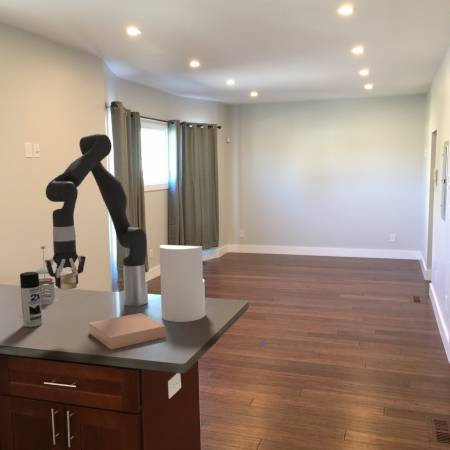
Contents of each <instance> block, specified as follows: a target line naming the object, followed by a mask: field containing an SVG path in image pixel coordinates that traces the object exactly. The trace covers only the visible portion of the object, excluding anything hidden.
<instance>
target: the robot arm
mask: <svg viewBox="0 0 450 450" xmlns="http://www.w3.org/2000/svg"><path fill="white" fill-rule="evenodd" d="M112 145H113V144H112V141H111V138H110V137H109V136H108V135H107V134H105V133H96V134H91V135H86V136H83V137H81V138H80V140H79V149H80V152H81V154H82V155H81V156H80V157H78V158H77V159H75V160H73V161H72V162H71V163H70V164H69V166H68V167H66V169H65V170H64V172H63V173H61V174H59V175H58V176H56V177H55V178H53V179H52V180H51V181H49V183H48V184H47V186H46V188H45V196H46V198H47V200H48V201H50V202H53V203H63V205H62V207H60V208H57V209H54V210H53V211H52V226H53V227H52V243H53V244H52V245H53V246H52V247H53V257H52V258H50V259H44V265H45V267H46V268H47V270H48V273H47V274H48V276H50V277H53V278H54V286H55V287H56V288H57V289H59V288H61V282H60V274H61V273H63V269H67V268H70V270H71V272H73V273H74V274H76V287H77V285H78V284H79V274H82V273H84V268H85V263H86V256H84V255H78V254H77V241H76V238H77V235H76V230H75V229H76V228H75V219H74V213H75V209H76V203H77V199H78V193H79V192H78V191H79V190H78V187H79V186H81V184H82V182H83V181H84V180H85V179H86V177H87V176H88V174H90V173H91V174H92V176H93V178H94V180H95V183H96V185H97V187H98V191H99V193H100V194H101V197H102V200H103V203H104V204H105V207H106V209H107V212H108V215H109V217H110V220H111V221H112V225H113V228H114V232H115V235H116V238H117V241H118V243H119V245H120V246H121V247H122V248H125V249H129V254H128V256H125V257H123V259H122V267H123V270H122V271H123V293H124V306H128V307H138V306H143V305H146V304H148V303H149V294H148V291H149V290H148V281H147V280H146V262H145V261H146V259H147V234H146V232H145V230H144V229H143V228H140V227H133V226H131V224H130V222H129V220H128V218H127V205H128V204H127V203H128V197H127V194H126V192H125V189H124V187H123V184H122V183H121V181H119V179H118V178H117V177H116V176H114V175H113V174H112V173H111V172H109V171H108V170H107V169H106V168H105V166H104V165H103V163H102V161H103V160H105V158H106V157H108V156H109V155H110V153H111V151H112ZM76 261H78V266H77V267H76V264H75V263H76ZM54 263H55V264H56V265H55V270H54V269H53V265H54ZM53 270H54V271H55V272H53Z"/></svg>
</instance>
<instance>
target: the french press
mask: <svg viewBox="0 0 450 450" xmlns="http://www.w3.org/2000/svg"><path fill="white" fill-rule="evenodd" d="M40 249H41V250H42V254H43V255H42V259H43V260H45V256H44V255H45V253H44V250H45V249H46V247H45V245H43V246H40ZM54 271H55V269H53V272H54ZM34 272H38V274H40V275H43V274H44V278H39V285H40V300H41V305H49V304H54V303H56V302H58V298H56V292H55V289H56V287H55V281H54V279H53V278H51V277H48V278H46V275H47V274H49V273H48V270H47V267H46V266H43V267H40V268H38V269H36V270H35V271H34ZM54 273H55V272H54Z"/></svg>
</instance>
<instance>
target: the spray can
mask: <svg viewBox="0 0 450 450" xmlns="http://www.w3.org/2000/svg"><path fill="white" fill-rule="evenodd" d="M39 276H40V275H39V274H38V272H35V271H26V272H21V273H20V274H19V280H20V281H19V284H20V296H21V299H20V300H21V307H22V308H21V309H22V310H21V311H22V321H23V322H22V324H23V326H24V327H25V328H35V327H39V326H41V325H43V320H42V319H43V317H42V304H41V300H40V285H39V279H40V277H39Z"/></svg>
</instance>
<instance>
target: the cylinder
mask: <svg viewBox="0 0 450 450" xmlns="http://www.w3.org/2000/svg"><path fill="white" fill-rule="evenodd" d="M203 262H204V261H203V246H201V245H200V246H198V245H175V244H173V245H172V244H161V245H159V272H160V274H159V275H160V299H161V301H160V302H161V318H162V319H163V320H165V321H167V322H168V321H169V322H175V323H183V322H184V323H185V322H186V323H187V322H193V321H194V322H195V321H197V320H201V319H203V318H205V316H206V296H205V295H206V292H205V289H206V288H205V285H206V284H205V279H204V270H203V267H204V266H203V264H204V263H203Z"/></svg>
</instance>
